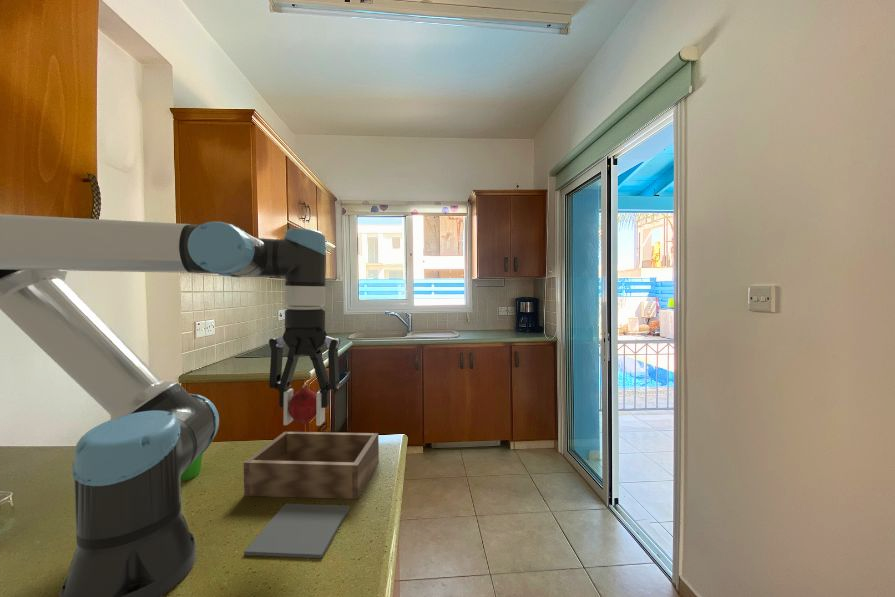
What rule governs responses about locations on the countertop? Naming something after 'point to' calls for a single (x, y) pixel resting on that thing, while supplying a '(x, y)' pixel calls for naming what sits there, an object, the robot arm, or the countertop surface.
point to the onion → (303, 405)
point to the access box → (312, 465)
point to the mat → (299, 531)
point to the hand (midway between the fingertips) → (304, 422)
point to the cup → (192, 469)
